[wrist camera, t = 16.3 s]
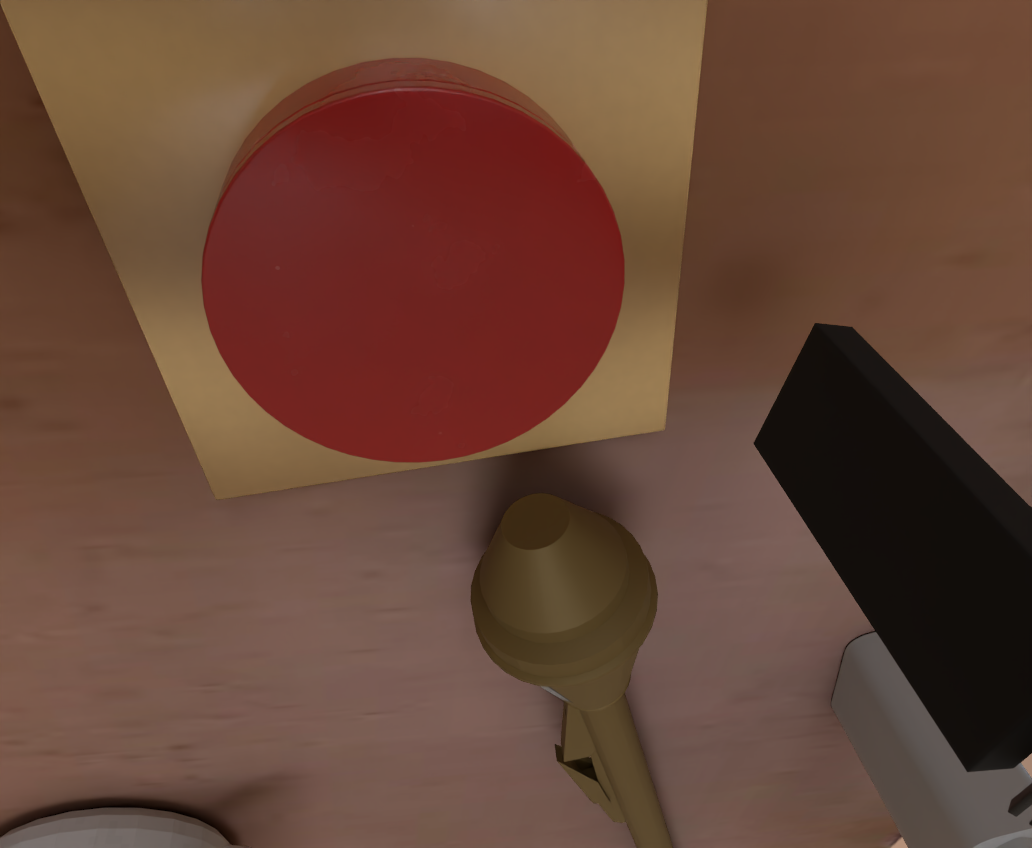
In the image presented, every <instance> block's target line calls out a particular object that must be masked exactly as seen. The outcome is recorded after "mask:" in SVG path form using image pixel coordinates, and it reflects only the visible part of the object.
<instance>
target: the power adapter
mask: <svg viewBox="0 0 1032 848" xmlns="http://www.w3.org/2000/svg"><path fill="white" fill-rule="evenodd" d="M831 707H832V709H833V710H834V712H835V714H836V716H837V718H838V720H839V721H840V723H841V725H842V727H843V729H844V731H845V732H846V734H847V736H848V738H849V740H850V742H851V743H852V745H853V747H854V749H855V751H856V753H857V754H858V756H859V758H860V760H861V762H862V764H863V766H864V767H865V769H866V771H867V773H868V775H869V777H870V778H871V780H872V782H873V784H874V786H875V788H876V789H877V791H878V793H879V795H880V797H881V799H882V800H883V802H884V804H885V806H886V808H887V810H888V811H889V813H890V815H891V817H892V819H893V821H894V822H895V824H896V826H897V828H898V830H899V832H900V834H901V835H902V837H903V839H904V841H905V843H906V845H907V846H908V848H1032V826H1031V825H1029V822H1030V821H1031V820H1032V805H1031V806H1030V807H1029V808H1027V809H1026V810H1025V811H1023V812H1022V813H1021V814H1020V815H1018V816H1017V817H1015V816H1014V815H1012V814H1010V813H1008V809H1009V805H1010V802H1011V799H1013V798H1014V797H1015V796H1016V795H1018V794H1019V793H1020V792H1021V791H1023V790H1024V789H1025V788H1026V787H1027V786H1029V785H1030V784H1031V783H1032V778H1031V777H1030V775H1029V774H1028V772H1027V771H1026V769H1025V768H1024V767H1023V765H1022V764H1021V763H1020V764H1018V765H1017V766H1016V767H1015V768H1012V769H1000V770H988V771H977V772H967V771H966V769H965V768H964V766H963V765H962V763H961V762H960V760H959V759H958V757H957V756H956V754H955V753H954V751H953V749H952V748H951V746H950V745H949V743H948V742H947V740H946V739H945V737H944V736H943V734H942V733H941V731H940V729H939V728H938V726H937V725H936V723H935V722H934V720H933V719H932V717H931V716H930V714H929V713H928V711H927V709H926V708H925V706H924V705H923V703H922V702H921V700H920V699H919V697H918V696H917V694H916V693H915V691H914V689H913V688H912V686H911V685H910V683H909V682H908V680H907V679H906V677H905V676H904V674H903V673H902V671H901V669H900V668H899V666H898V665H897V663H896V662H895V660H894V659H893V657H892V656H891V654H890V653H889V651H888V650H887V648H886V646H885V645H884V643H883V642H882V640H881V639H880V637H879V636H878V634H877V633H876V632H874V633H870V634H866V635H863V636H861V637H859V638H857V639H855V640H854V641H852V642H851V643H850V644H849V645H848V646H847V648H846V650H845V652H844V656H843V660H842V664H841V667H840V671H839V675H838V679H837V683H836V686H835V690H834V694H833V698H832V701H831Z"/></svg>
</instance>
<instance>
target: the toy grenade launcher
mask: <svg viewBox="0 0 1032 848" xmlns="http://www.w3.org/2000/svg"><path fill="white" fill-rule="evenodd" d="M657 599H658V592H657V586H656V579H655V575H654V573H653V570H652V568H651V565H650V563H649V561H648V559H647V558H646V556H645V555H644V554H643V552H642V549H641V547H640V545H639V544H638V542H637V541H636V540H635V538H634V537H633V535H632V534H631V533H630V532H629V531H627V530H626V529H625V528H624V527H623V526H622V525H621V524H619V523H617V522H616V521H614V520H612V519H611V518H609V517H607V516H604V515H601V514H599V513H596V512H593V511H590V510H587V509H585V508H583V507H580V506H578V505H576V504H573V503H571V502H569V501H566V500H564V499H562V498H559V497H557V496H554V495H551V494H546V493H536V494H531V495H528V496H525V497H523V498H521V499H519V500H517V501H516V502H514V503H513V504H512V505H511V506H510V507H509V508H508V509H507V511H506V512H505V514H504V516H503V518H502V520H501V522H500V524H499V526H498V528H497V530H496V532H495V534H494V536H493V538H492V540H491V542H490V544H489V546H488V548H487V550H486V552H485V553H484V555H483V556H482V558H481V560H480V562H479V564H478V566H477V568H476V570H475V573H474V577H473V581H472V585H471V605H472V610H473V615H474V621H475V627H476V632H477V634H478V637H479V639H480V642H481V644H482V646H483V648H484V650H485V651H486V652H487V654H488V655H489V656H490V658H491V659H492V660H493V662H494V663H496V664H497V665H498V666H499V667H500V668H501V669H502V670H504V671H505V672H506V673H508V674H510V675H511V676H513V677H515V678H517V679H519V680H521V681H523V682H527V683H530V684H534V685H537V686H540V687H542V688H543V689H545V690H547V691H548V692H550V693H552V694H553V695H555V696H557V697H558V698H560V699H562V700H563V701H564V708H563V720H562V731H561V746H562V747H561V746H558V745H556V744H555V750H556V757H557V761H558V763H559V764H560V765H561V766H562V767H563V768H564V770H565V771H566V772H567V773H568V774H569V775H570V777H571V778H572V779H573V780H574V781H575V782H576V784H577V785H578V786H579V787H580V788H581V789H582V791H583V792H584V793H585V794H586V795H587V796H588V798H589V799H590V800H591V801H592V802H593V803H598V804H599V805H600V806H601V807H602V809H603V810H604V811H605V812H606V813H607V815H608V816H609V817H610V818H611V819H612V821H613V822H620V823H623V822H626V823H627V825H628V828H629V830H630V832H631V835H632V837H633V839H634V842H635V844H636V847H637V848H673V846H672V842H671V839H670V836H669V833H668V830H667V826H666V823H665V820H664V817H663V814H662V811H661V807H660V804H659V801H658V798H657V795H656V792H655V788H654V785H653V782H652V779H651V776H650V772H649V769H648V766H647V763H646V760H645V757H644V753H643V750H642V747H641V744H640V741H639V737H638V734H637V731H636V728H635V725H634V722H633V718H632V715H631V712H630V709H629V706H628V703H627V699H626V696H625V691H626V689H627V687H628V685H629V681H630V676H631V671H632V668H633V665H634V662H635V659H636V656H637V653H638V650H639V647H640V646H641V645H642V644H643V642H644V640H645V639H646V637H647V635H648V633H649V631H650V630H651V628H652V625H653V621H654V618H655V615H656V611H657ZM590 756H591V758H592V759H591V758H589V757H590Z"/></svg>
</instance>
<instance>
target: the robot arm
mask: <svg viewBox="0 0 1032 848" xmlns="http://www.w3.org/2000/svg"><path fill="white" fill-rule="evenodd" d="M754 445H755V447H756V448H757V450H758V451H759V453H760V454H761V456H762V457H763V459H764V460H765V462H766V463H767V465H768V467H769V468H770V470H771V471H772V473H773V474H774V476H775V477H776V479H777V480H778V482H779V483H780V485H781V487H782V488H783V490H784V491H785V493H786V494H787V496H788V497H789V499H790V500H791V502H792V503H793V505H794V506H795V508H796V510H797V511H798V513H799V514H800V516H801V517H802V519H803V520H804V522H805V523H806V525H807V526H808V528H809V530H810V531H811V533H812V534H813V536H814V537H815V539H816V540H817V542H818V543H819V545H820V546H821V548H822V550H823V551H824V553H825V554H826V556H827V557H828V559H829V560H830V562H831V563H832V565H833V566H834V568H835V570H836V571H837V573H838V574H839V576H840V577H841V579H842V580H843V582H844V583H845V585H846V586H847V588H848V590H849V591H850V593H851V594H852V596H853V597H854V599H855V600H856V602H857V603H858V605H859V606H860V608H861V610H862V611H863V613H864V614H865V616H866V617H867V619H868V620H869V622H870V623H871V625H872V626H873V628H874V630H875V631H876V633H877V634H878V636H879V637H880V639H881V640H882V642H883V643H884V645H885V646H886V648H887V650H888V651H889V653H890V654H891V656H892V657H893V659H894V660H895V662H896V663H897V665H898V666H899V668H900V669H901V671H902V673H903V674H904V676H905V677H906V679H907V680H908V682H909V683H910V685H911V686H912V688H913V689H914V691H915V693H916V694H917V696H918V697H919V699H920V700H921V702H922V703H923V705H924V706H925V708H926V709H927V711H928V713H929V714H930V716H931V717H932V719H933V720H934V722H935V723H936V725H937V726H938V728H939V729H940V731H941V733H942V734H943V736H944V737H945V739H946V740H947V742H948V743H949V745H950V746H951V748H952V749H953V751H954V753H955V754H956V756H957V757H958V759H959V760H960V762H961V763H962V765H963V766H964V768H965V769H966V771H967V772H977V771H988V770H1000V769H1012V768H1015V767H1016V766H1017V765H1018V764H1020V763H1021V762H1022V761H1023V760H1024V759H1025V758H1027V757H1028V756H1029V755H1030V754H1031V753H1032V507H1031V506H1029V505H1028V504H1027V503H1026V502H1025V501H1024V500H1023V499H1022V498H1021V497H1020V496H1019V495H1018V494H1017V493H1016V492H1015V491H1014V490H1013V489H1012V488H1011V487H1010V486H1009V485H1008V484H1007V483H1006V482H1005V481H1004V480H1003V479H1002V478H1001V477H1000V476H999V475H998V474H997V473H996V472H995V471H994V470H993V469H992V468H991V467H990V466H989V465H988V464H987V463H986V462H985V461H984V460H983V459H982V458H981V457H980V456H979V455H978V454H977V453H976V452H975V451H974V450H973V449H972V448H971V447H970V446H969V445H968V444H967V443H966V442H965V440H964V439H963V438H962V437H961V436H960V435H959V434H958V433H957V432H956V431H955V430H954V429H953V428H952V427H951V426H950V425H949V424H948V423H947V422H946V421H945V420H944V419H943V418H942V417H941V416H940V415H939V414H938V413H937V412H936V411H935V410H934V409H933V408H932V407H931V406H930V405H929V404H928V403H927V402H926V401H925V400H924V399H923V398H922V397H921V396H920V395H919V394H918V393H917V392H916V391H915V390H914V389H913V388H912V387H911V386H910V385H909V384H908V383H907V382H906V381H905V380H904V379H903V378H902V377H901V376H900V375H899V374H898V373H897V372H896V371H895V370H894V369H893V368H892V367H891V366H890V365H889V364H888V363H887V362H886V361H885V360H884V359H883V358H882V357H881V356H880V355H879V354H878V353H877V352H876V351H875V350H874V349H873V348H872V347H871V346H870V345H869V344H868V343H867V342H866V341H865V340H864V339H863V338H862V337H861V336H860V335H859V334H858V333H857V332H856V330H855V329H854V328H853V327H847V326H838V325H828V324H819V323H815V324H814V326H813V328H812V330H811V332H810V334H809V336H808V338H807V340H806V342H805V344H804V346H803V348H802V350H801V352H800V354H799V356H798V358H797V360H796V362H795V364H794V365H793V367H792V369H791V371H790V373H789V375H788V377H787V379H786V381H785V383H784V385H783V387H782V389H781V391H780V393H779V395H778V397H777V399H776V401H775V403H774V404H773V406H772V408H771V410H770V412H769V414H768V416H767V418H766V420H765V422H764V424H763V426H762V428H761V430H760V432H759V434H758V436H757V438H756V440H755V442H754ZM1031 805H1032V783H1031V784H1030V785H1029V786H1027V787H1026V788H1025V789H1024V790H1023V791H1021V792H1020V793H1019V794H1018V795H1016V796H1015V797H1014V798H1013V799H1011V802H1010V805H1009V809H1008V813H1010V814H1012V815H1014V816H1015V817H1017V816H1018V815H1020V814H1021V813H1022V812H1023V811H1025V810H1026V809H1027V808H1029V807H1030V806H1031ZM1029 825H1031V826H1032V820H1031V821H1030V822H1029Z"/></svg>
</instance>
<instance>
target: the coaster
mask: <svg viewBox="0 0 1032 848" xmlns="http://www.w3.org/2000/svg"><path fill="white" fill-rule="evenodd" d="M707 2H708V0H0V5H1V7H2V9H3V12H4V14H5V16H6V18H7V21H8V23H9V25H10V28H11V30H12V32H13V35H14V37H15V39H16V41H17V44H18V46H19V48H20V51H21V53H22V55H23V58H24V60H25V62H26V64H27V67H28V69H29V71H30V74H31V76H32V78H33V81H34V83H35V85H36V87H37V90H38V92H39V94H40V97H41V99H42V101H43V104H44V106H45V108H46V110H47V113H48V115H49V117H50V120H51V122H52V124H53V127H54V129H55V131H56V133H57V136H58V138H59V140H60V143H61V145H62V147H63V149H64V152H65V154H66V156H67V159H68V161H69V163H70V166H71V168H72V170H73V172H74V175H75V177H76V179H77V182H78V184H79V186H80V189H81V191H82V193H83V195H84V198H85V200H86V202H87V205H88V207H89V209H90V212H91V214H92V216H93V218H94V221H95V223H96V225H97V228H98V230H99V232H100V235H101V237H102V239H103V241H104V244H105V246H106V248H107V251H108V253H109V255H110V258H111V260H112V262H113V264H114V267H115V269H116V271H117V274H118V276H119V278H120V281H121V283H122V285H123V287H124V290H125V292H126V294H127V297H128V299H129V301H130V304H131V306H132V308H133V310H134V313H135V315H136V317H137V320H138V322H139V324H140V326H141V329H142V331H143V333H144V336H145V338H146V340H147V343H148V345H149V347H150V349H151V352H152V354H153V356H154V359H155V361H156V363H157V366H158V368H159V370H160V372H161V375H162V377H163V379H164V382H165V384H166V386H167V389H168V391H169V393H170V395H171V398H172V400H173V402H174V405H175V407H176V409H177V412H178V414H179V416H180V418H181V421H182V423H183V425H184V428H185V430H186V432H187V435H188V437H189V439H190V441H191V444H192V446H193V448H194V451H195V453H196V455H197V458H198V460H199V462H200V464H201V467H202V469H203V471H204V474H205V476H206V478H207V481H208V483H209V485H210V487H211V490H212V492H213V494H214V497H215V499H216V500H221V499H228V498H234V497H241V496H247V495H253V494H260V493H266V492H272V491H279V490H285V489H292V488H298V487H304V486H311V485H317V484H324V483H330V482H336V481H343V480H349V479H356V478H362V477H368V476H375V475H381V474H387V473H394V472H400V471H407V470H413V469H419V468H426V467H432V466H439V465H445V464H451V463H458V462H464V461H471V460H477V459H483V458H490V457H496V456H502V455H509V454H515V453H522V452H528V451H534V450H541V449H547V448H554V447H560V446H566V445H573V444H579V443H585V442H592V441H598V440H605V439H611V438H617V437H624V436H630V435H637V434H643V433H649V432H656V431H662V430H665V423H666V413H667V403H668V393H669V383H670V373H671V363H672V353H673V343H674V333H675V323H676V313H677V303H678V293H679V283H680V273H681V263H682V253H683V243H684V233H685V223H686V213H687V203H688V193H689V183H690V172H691V162H692V152H693V142H694V132H695V122H696V112H697V102H698V92H699V82H700V72H701V62H702V52H703V42H704V32H705V22H706V12H707ZM389 58H426V59H433V60H440V61H447V62H452V63H456V64H460V65H463V66H467V67H470V68H474V69H477V70H480V71H482V72H484V73H486V74H489V75H491V76H493V77H496V78H498V79H500V80H502V81H504V82H506V83H508V84H509V85H511V86H512V87H514V88H516V89H517V90H519V91H520V92H522V93H524V94H525V95H527V96H528V97H529V98H530V99H532V100H533V101H534V102H535V103H536V104H538V105H539V106H540V107H541V108H542V109H544V110H545V111H546V112H547V113H548V114H549V115H550V116H551V117H552V118H553V119H554V121H555V122H556V123H557V124H558V125H559V126H560V127H561V128H562V130H563V131H564V132H565V133H566V134H567V136H568V137H569V139H570V140H571V142H572V143H573V145H574V146H575V147H576V149H577V150H578V152H579V153H580V155H581V156H582V158H583V159H584V160H585V162H586V163H587V165H588V166H589V168H590V169H591V171H592V172H593V174H594V175H595V177H596V178H597V180H598V181H599V183H600V184H601V186H602V187H603V189H604V191H605V193H606V195H607V198H608V200H609V202H610V204H611V206H612V208H613V210H614V213H615V217H616V220H617V223H618V227H619V230H620V233H621V238H622V245H623V252H624V259H625V284H624V291H623V298H622V305H621V309H620V313H619V317H618V320H617V324H616V327H615V330H614V333H613V335H612V337H611V339H610V342H609V344H608V346H607V349H606V351H605V353H604V354H603V356H602V358H601V359H600V361H599V363H598V364H597V366H596V368H595V370H594V371H593V372H592V373H591V375H590V376H589V377H588V379H587V380H586V381H585V383H584V384H583V385H582V387H581V388H580V389H579V390H578V391H577V392H576V393H575V394H574V395H573V396H572V397H571V398H570V399H569V400H568V401H567V402H566V403H565V404H564V405H563V406H562V407H561V408H559V409H558V410H557V411H556V412H555V413H553V414H552V415H551V416H550V417H549V418H547V419H546V420H544V421H543V422H541V423H540V424H538V425H537V426H535V427H534V428H532V429H531V430H529V431H527V432H526V433H524V434H522V435H520V436H518V437H516V438H514V439H512V440H510V441H508V442H506V443H503V444H501V445H498V446H496V447H493V448H491V449H488V450H485V451H482V452H478V453H475V454H472V455H468V456H464V457H459V458H454V459H448V460H443V461H432V462H421V463H407V462H388V461H379V460H371V459H366V458H362V457H357V456H352V455H348V454H345V453H342V452H339V451H336V450H333V449H330V448H327V447H324V446H322V445H320V444H318V443H315V442H313V441H311V440H309V439H306V438H305V437H303V436H301V435H299V434H298V433H296V432H294V431H293V430H291V429H289V428H287V427H286V426H284V425H283V424H282V423H280V422H279V421H278V420H276V419H275V418H274V417H272V416H271V415H270V414H268V413H267V412H266V411H265V410H264V409H262V408H261V407H260V406H259V405H258V404H257V403H256V402H255V401H254V400H253V399H252V398H251V397H250V396H249V395H248V394H247V393H246V391H245V390H244V389H243V388H242V386H241V385H240V384H239V383H238V381H237V380H236V379H235V378H234V376H233V375H232V373H231V372H230V370H229V368H228V367H227V365H226V363H225V362H224V360H223V358H222V357H221V355H220V353H219V351H218V349H217V346H216V344H215V341H214V339H213V337H212V334H211V332H210V329H209V325H208V321H207V317H206V313H205V309H204V305H203V295H202V284H201V273H202V256H203V250H204V245H205V241H206V236H207V232H208V227H209V224H210V221H211V218H212V215H213V212H214V209H215V206H216V203H217V200H218V197H219V194H220V191H221V188H222V185H223V183H224V180H225V178H226V175H227V173H228V170H229V168H230V165H231V162H232V161H233V159H234V157H235V155H236V154H237V152H238V150H239V149H240V147H241V145H242V144H243V142H244V140H245V139H246V137H247V136H248V135H249V134H250V133H251V131H252V130H253V129H254V128H255V126H256V125H257V124H258V123H259V122H260V120H261V119H262V118H263V117H264V116H265V115H266V114H267V113H268V112H270V111H271V110H272V109H273V108H274V107H275V106H276V105H277V104H278V103H280V102H281V101H282V100H283V99H284V98H286V97H287V96H289V95H290V94H292V93H293V92H295V91H296V90H298V89H299V88H301V87H302V86H304V85H305V84H307V83H309V82H311V81H313V80H315V79H317V78H320V77H322V76H324V75H326V74H328V73H330V72H332V71H335V70H338V69H342V68H345V67H348V66H352V65H355V64H358V63H362V62H368V61H375V60H382V59H389Z"/></svg>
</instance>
